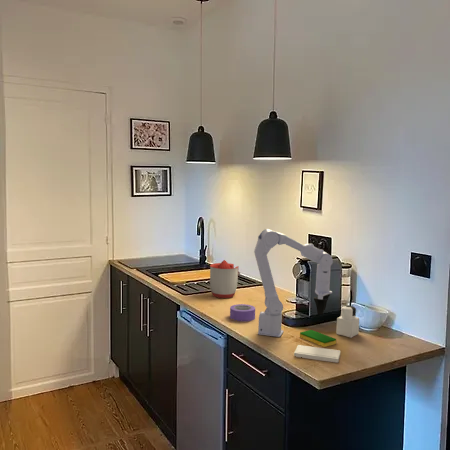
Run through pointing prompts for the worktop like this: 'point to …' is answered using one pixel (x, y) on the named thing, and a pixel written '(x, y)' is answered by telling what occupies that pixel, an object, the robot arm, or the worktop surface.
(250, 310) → the tape roll
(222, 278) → the citrus juicer
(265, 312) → the robot arm
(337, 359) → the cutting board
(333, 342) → the dish sponge
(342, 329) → the medicine bottle
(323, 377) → the worktop surface
